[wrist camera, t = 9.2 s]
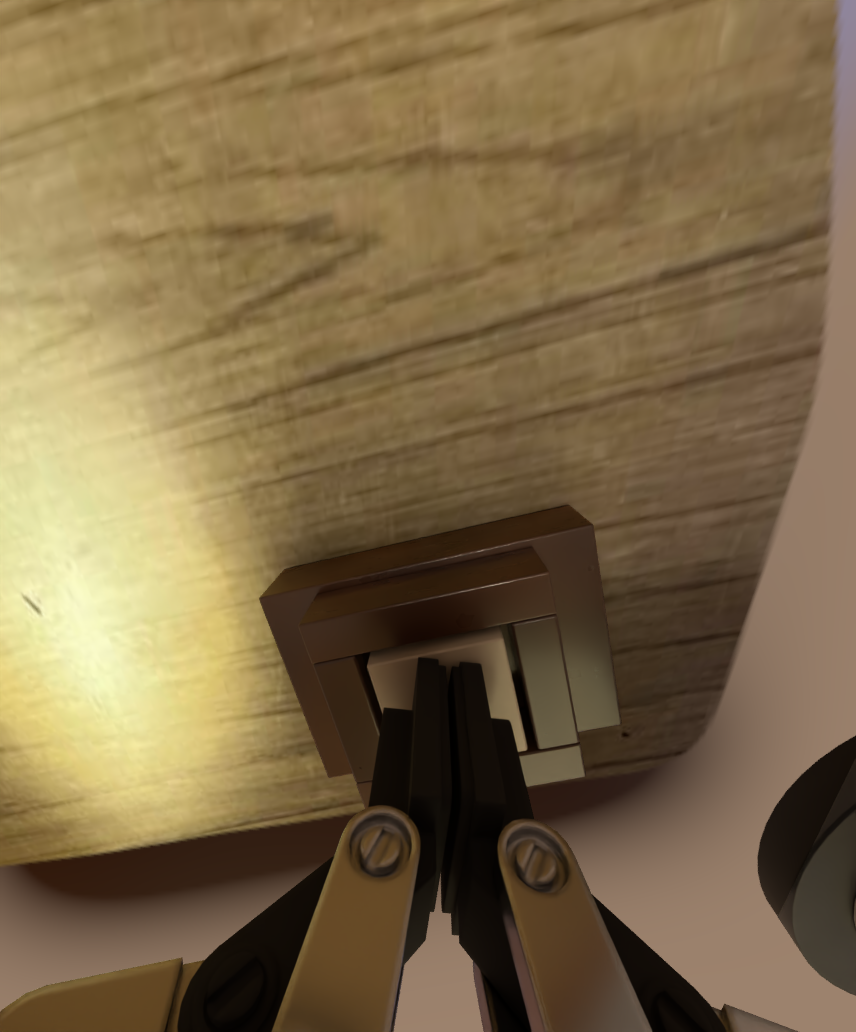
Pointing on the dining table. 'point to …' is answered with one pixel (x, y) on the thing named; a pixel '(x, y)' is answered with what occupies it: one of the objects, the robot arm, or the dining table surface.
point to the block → (448, 611)
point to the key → (483, 646)
